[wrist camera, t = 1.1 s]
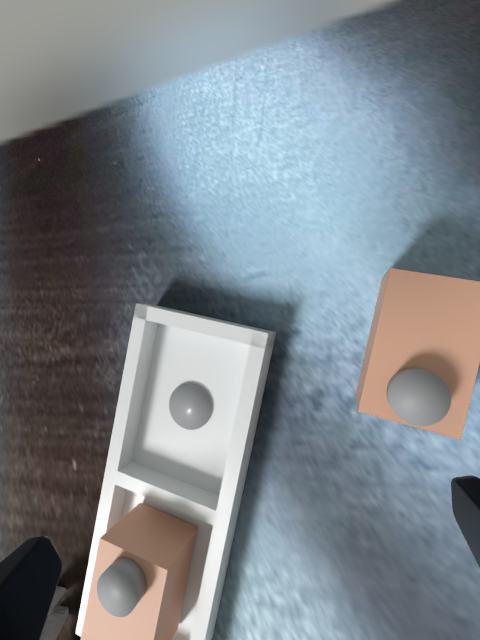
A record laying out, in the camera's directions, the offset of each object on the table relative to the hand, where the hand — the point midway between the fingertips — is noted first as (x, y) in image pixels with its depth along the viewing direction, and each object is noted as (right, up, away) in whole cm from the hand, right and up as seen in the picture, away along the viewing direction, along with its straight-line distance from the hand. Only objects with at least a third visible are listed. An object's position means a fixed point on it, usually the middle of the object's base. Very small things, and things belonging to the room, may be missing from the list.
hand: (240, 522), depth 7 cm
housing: (-4, -7, +16) cm, 18 cm away
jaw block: (+10, +3, +12) cm, 16 cm away
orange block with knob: (-5, -12, +15) cm, 20 cm away
